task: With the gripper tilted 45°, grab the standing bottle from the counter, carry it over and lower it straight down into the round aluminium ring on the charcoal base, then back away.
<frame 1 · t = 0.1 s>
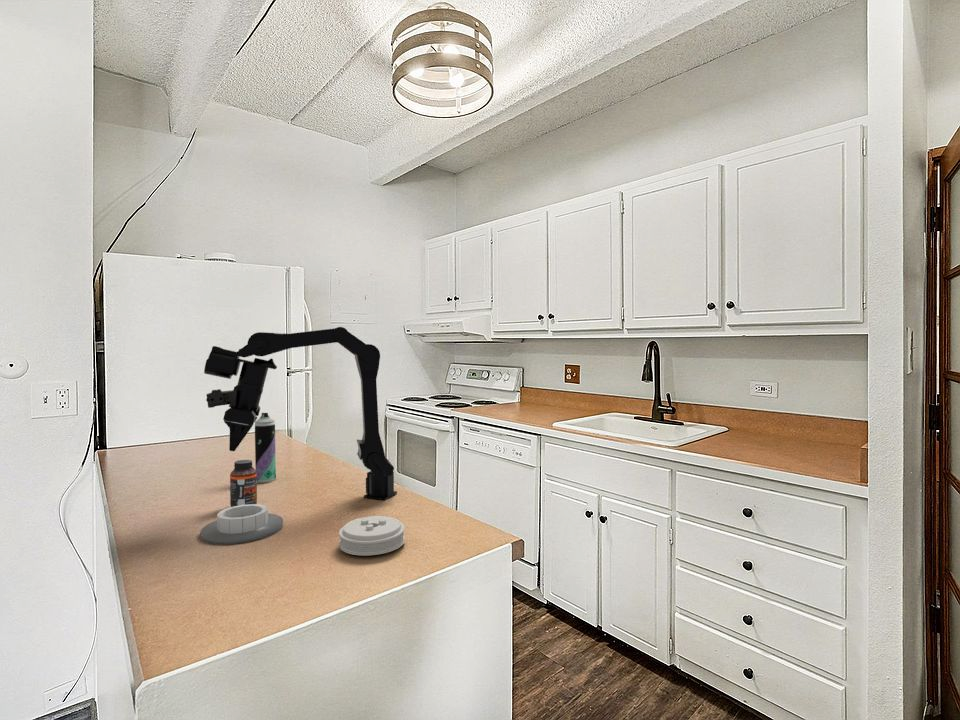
hand: (234, 447, 121), 15 cm above the counter, tool pointing down, fingers open, 9 cm apart
lid: (372, 547, 100), on the counter
spray can: (266, 481, 149), on the counter
ring mount: (243, 529, 109), on the counter
supplement bottle: (243, 507, 124), on the counter
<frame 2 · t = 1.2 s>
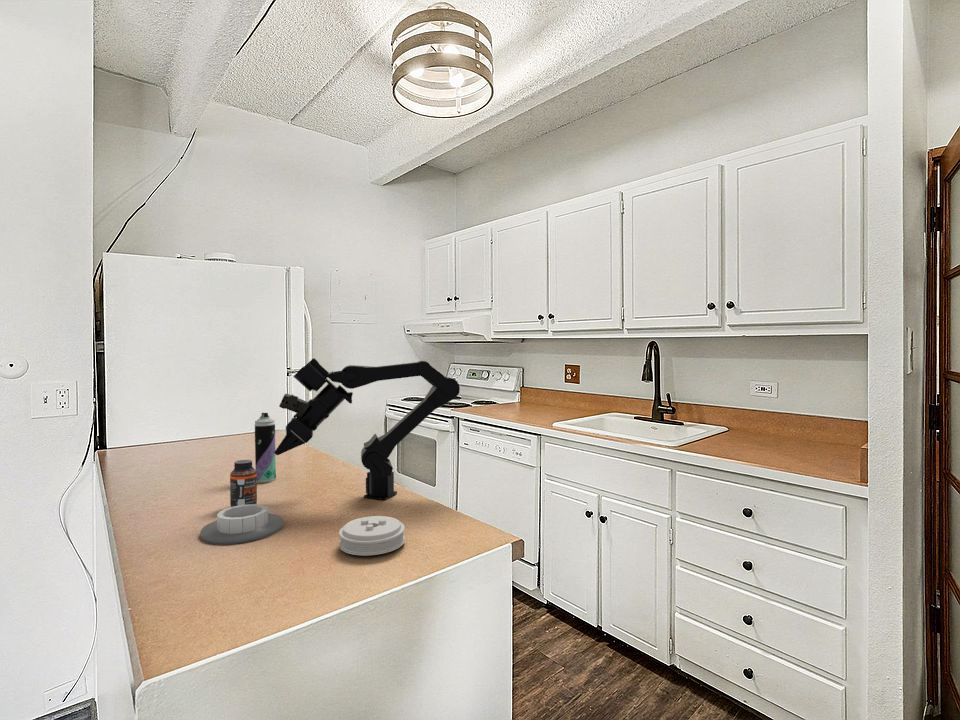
hand: (278, 450, 126), 14 cm above the counter, tool tilted 45°, fingers open, 9 cm apart
nothing on the counter moved.
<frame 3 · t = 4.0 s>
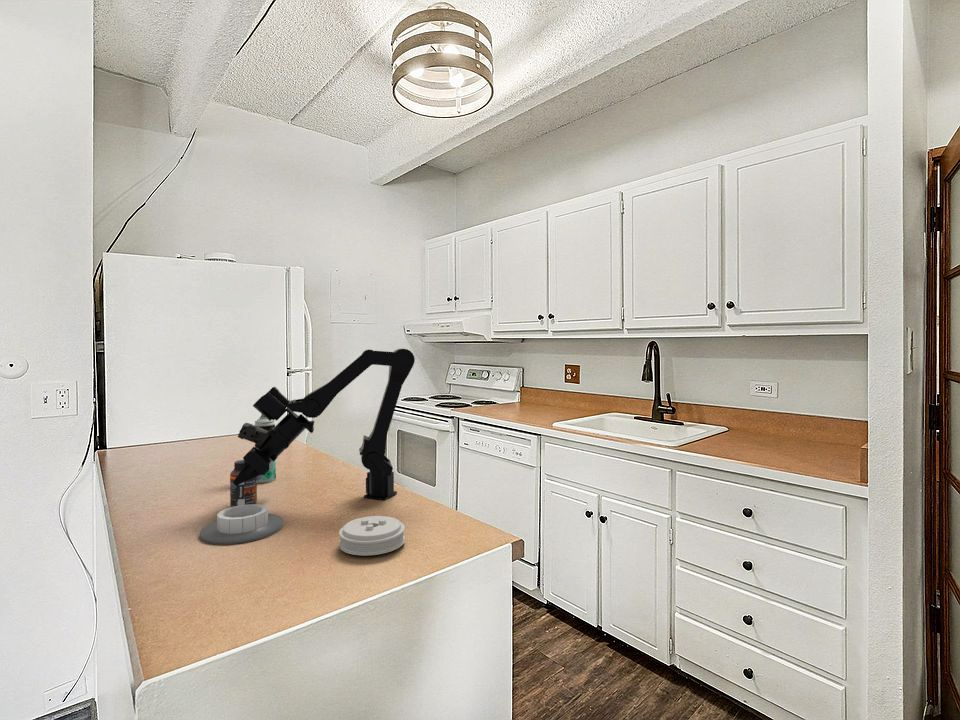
hand: (237, 480, 124), 7 cm above the counter, tool tilted 45°, fingers closed on supplement bottle, 6 cm apart
supplement bottle: (243, 507, 124), on the counter, touching gripper
everything else where it was.
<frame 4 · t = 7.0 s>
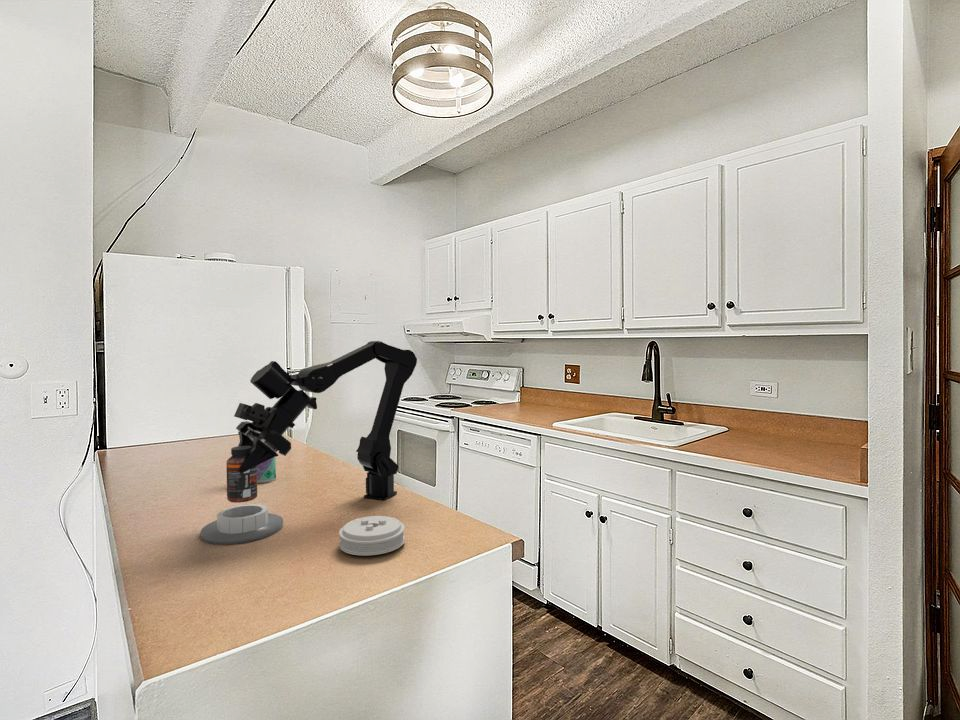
hand: (235, 469, 108), 13 cm above the counter, tool tilted 45°, fingers closed on supplement bottle, 6 cm apart
supplement bottle: (242, 500, 109), point 6 cm above the counter, touching gripper
everything else where it was.
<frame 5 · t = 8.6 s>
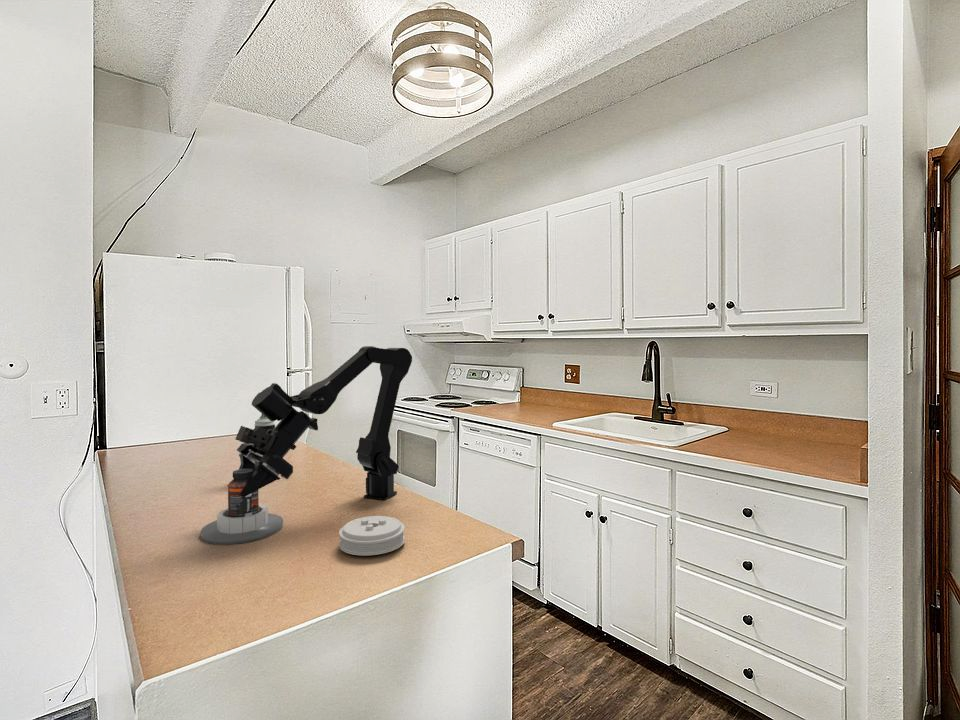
hand: (236, 492, 108), 8 cm above the counter, tool tilted 45°, fingers closed on supplement bottle, 6 cm apart
supplement bottle: (244, 523, 109), point 1 cm above the counter, touching gripper
everything else where it was.
when the fingers open (8 cm above the counter, at t = 9.7 s): supplement bottle stays where it is, resting on ring mount.
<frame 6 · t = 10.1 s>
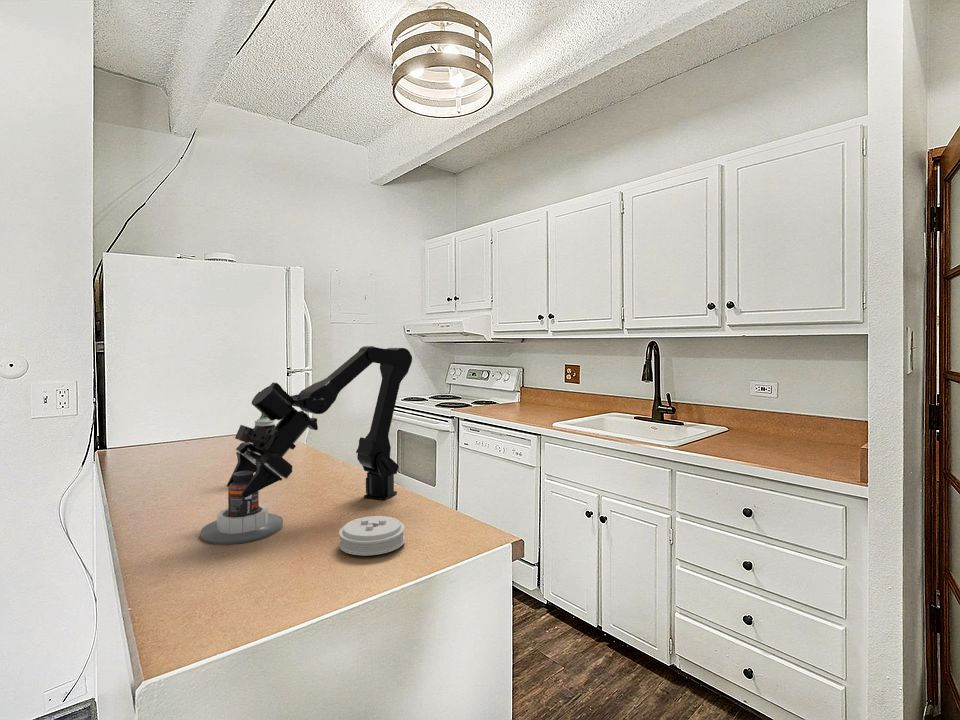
hand: (235, 491, 108), 9 cm above the counter, tool tilted 45°, fingers open, 9 cm apart
supplement bottle: (244, 525, 109), point 1 cm above the counter, touching ring mount
everything else where it was.
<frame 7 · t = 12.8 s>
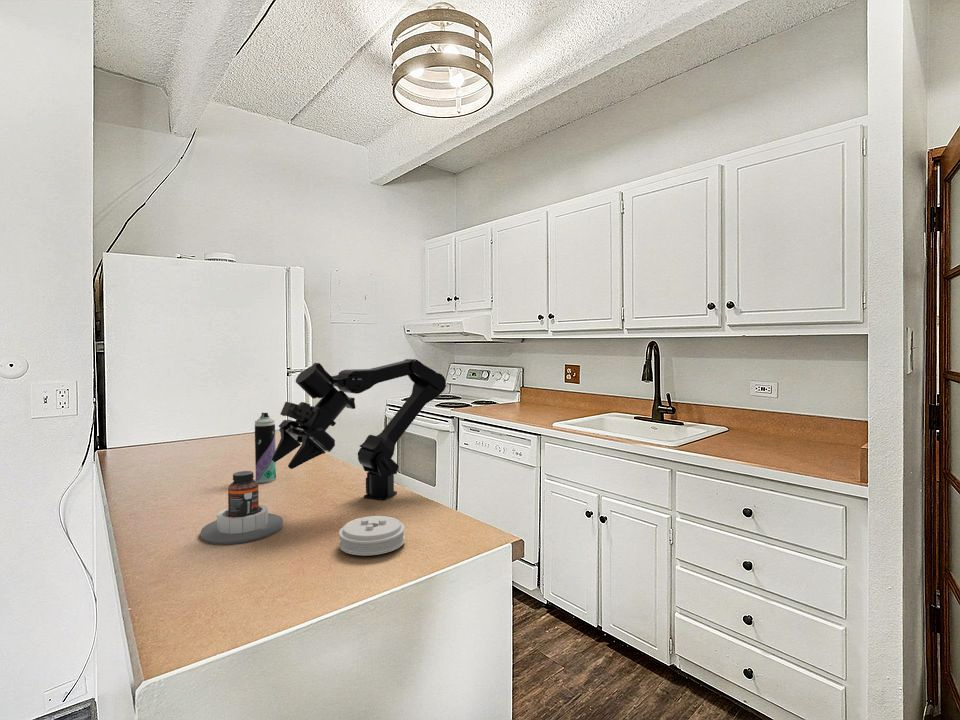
hand: (281, 464, 114), 13 cm above the counter, tool tilted 45°, fingers open, 9 cm apart
nothing on the counter moved.
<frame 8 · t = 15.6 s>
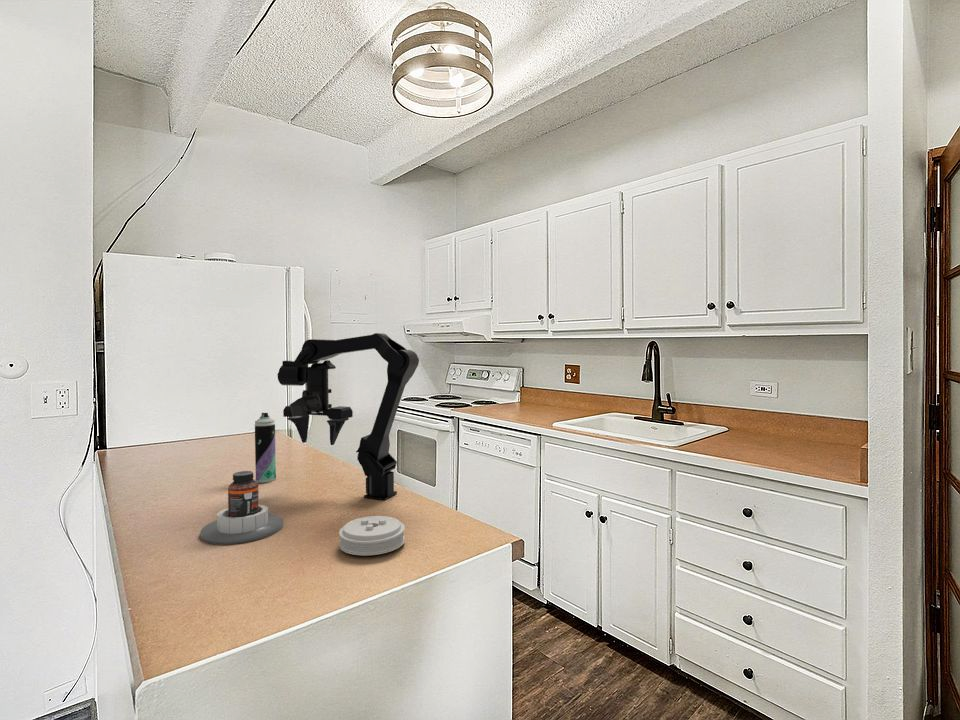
hand: (318, 443, 137), 13 cm above the counter, tool pointing down, fingers open, 9 cm apart
nothing on the counter moved.
at the end: supplement bottle 0.2 cm from the ring mount (horizontally); supplement bottle tilted 0°; supplement bottle point 0.8 cm above the counter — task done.
